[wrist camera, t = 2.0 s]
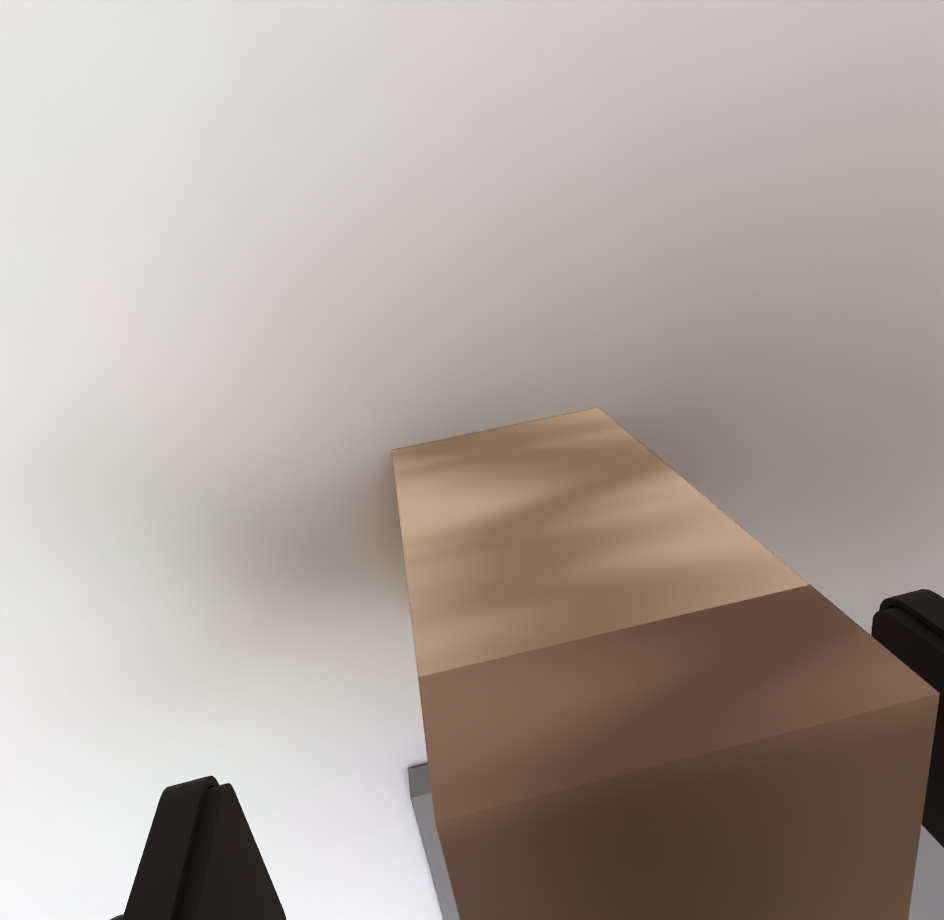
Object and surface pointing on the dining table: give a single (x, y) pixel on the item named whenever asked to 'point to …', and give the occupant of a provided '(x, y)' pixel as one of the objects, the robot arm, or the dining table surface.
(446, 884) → the mat
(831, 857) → the maple block
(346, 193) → the dining table surface
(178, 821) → the robot arm
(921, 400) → the dining table surface
